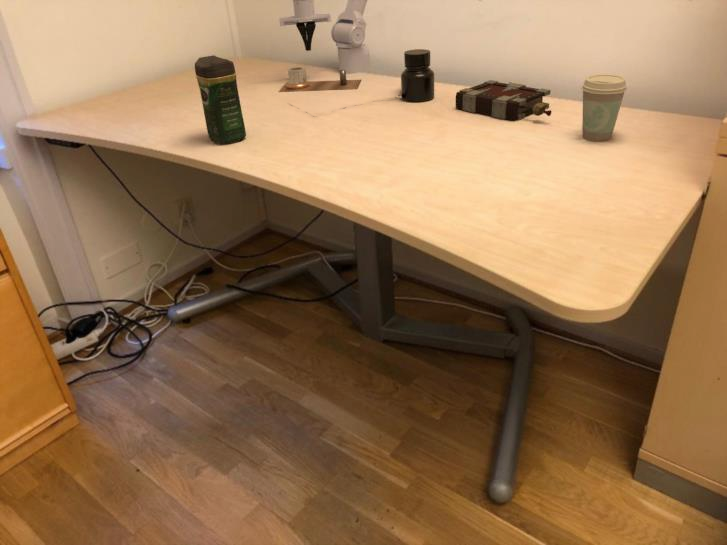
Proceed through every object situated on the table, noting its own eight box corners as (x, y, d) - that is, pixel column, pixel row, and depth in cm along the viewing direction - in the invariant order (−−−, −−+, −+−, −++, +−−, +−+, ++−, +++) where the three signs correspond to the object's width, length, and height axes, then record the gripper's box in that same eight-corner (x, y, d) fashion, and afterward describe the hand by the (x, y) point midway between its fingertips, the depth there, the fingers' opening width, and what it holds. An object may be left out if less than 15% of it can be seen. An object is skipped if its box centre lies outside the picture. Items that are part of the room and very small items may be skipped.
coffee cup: (566, 135, 126) (573, 78, 120) (598, 127, 129) (606, 71, 122) (595, 146, 119) (603, 86, 113) (627, 138, 122) (638, 79, 116)
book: (490, 97, 156) (491, 78, 153) (575, 113, 139) (578, 92, 137) (454, 110, 148) (454, 90, 145) (540, 129, 131) (542, 106, 129)
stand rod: (344, 83, 171) (343, 69, 169) (347, 84, 169) (346, 70, 167) (339, 84, 170) (338, 70, 168) (342, 85, 169) (341, 71, 167)
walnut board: (362, 84, 175) (361, 79, 174) (357, 94, 165) (357, 89, 165) (287, 87, 178) (286, 82, 177) (278, 97, 168) (277, 92, 167)
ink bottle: (437, 93, 161) (437, 47, 155) (434, 102, 154) (434, 54, 147) (401, 94, 163) (400, 48, 157) (398, 103, 155) (396, 56, 149)
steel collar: (302, 80, 174) (300, 66, 172) (309, 83, 170) (308, 68, 168) (286, 83, 172) (285, 69, 170) (293, 86, 168) (292, 71, 166)
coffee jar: (251, 139, 137) (238, 56, 128) (220, 147, 134) (203, 63, 124) (234, 130, 144) (220, 51, 135) (204, 137, 141) (187, 57, 131)
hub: (303, 82, 175) (301, 65, 173) (313, 86, 170) (311, 69, 168) (282, 86, 173) (280, 69, 170) (291, 90, 168) (289, 73, 165)
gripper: (326, -5, 169) (330, 45, 176) (276, 0, 167) (282, 50, 174) (330, -2, 163) (334, 49, 170) (278, 2, 161) (284, 54, 168)
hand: (308, 50), depth 171 cm, fingers closed
